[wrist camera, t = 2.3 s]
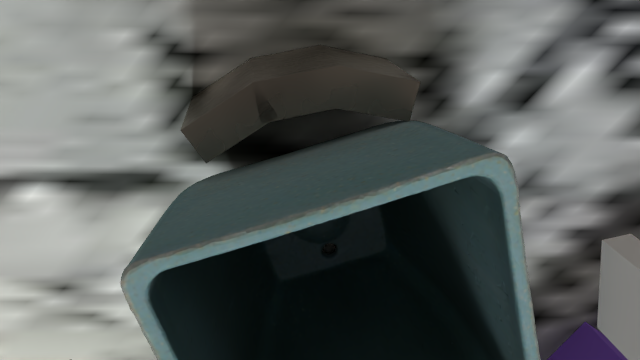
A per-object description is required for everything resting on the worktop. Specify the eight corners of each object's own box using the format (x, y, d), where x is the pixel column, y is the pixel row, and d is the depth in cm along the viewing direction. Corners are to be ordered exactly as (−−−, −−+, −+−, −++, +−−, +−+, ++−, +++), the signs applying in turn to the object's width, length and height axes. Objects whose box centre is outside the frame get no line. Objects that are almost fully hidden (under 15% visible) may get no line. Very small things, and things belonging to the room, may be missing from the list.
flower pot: (165, 140, 19) (107, 274, 11) (399, 68, 19) (515, 147, 11) (243, 329, 23) (244, 539, 14) (442, 267, 23) (554, 439, 15)
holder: (417, 318, 24) (449, 383, 20) (261, 353, 23) (265, 427, 20) (383, 32, 19) (417, 49, 15) (185, 70, 18) (171, 97, 15)
